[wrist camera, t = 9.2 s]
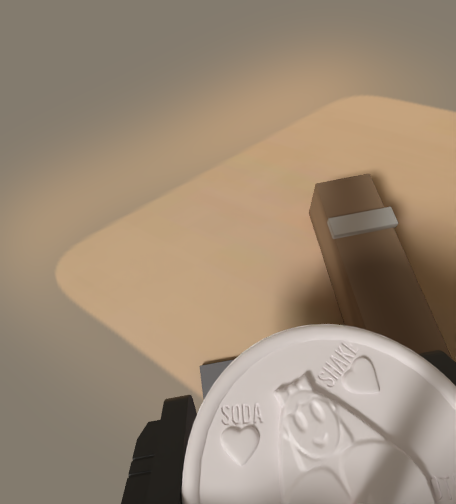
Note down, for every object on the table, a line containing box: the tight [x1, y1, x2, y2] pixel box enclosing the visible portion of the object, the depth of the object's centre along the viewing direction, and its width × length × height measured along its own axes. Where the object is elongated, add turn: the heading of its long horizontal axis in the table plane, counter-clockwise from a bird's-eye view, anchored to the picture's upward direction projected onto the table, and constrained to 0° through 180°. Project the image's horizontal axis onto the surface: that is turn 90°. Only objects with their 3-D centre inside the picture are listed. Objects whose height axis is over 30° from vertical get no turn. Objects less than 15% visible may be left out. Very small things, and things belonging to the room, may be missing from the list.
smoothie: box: [182, 324, 456, 504], centre depth 9 cm, size 6×6×14 cm
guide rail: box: [309, 174, 452, 359], centre depth 16 cm, size 3×16×3 cm, turn 9°
